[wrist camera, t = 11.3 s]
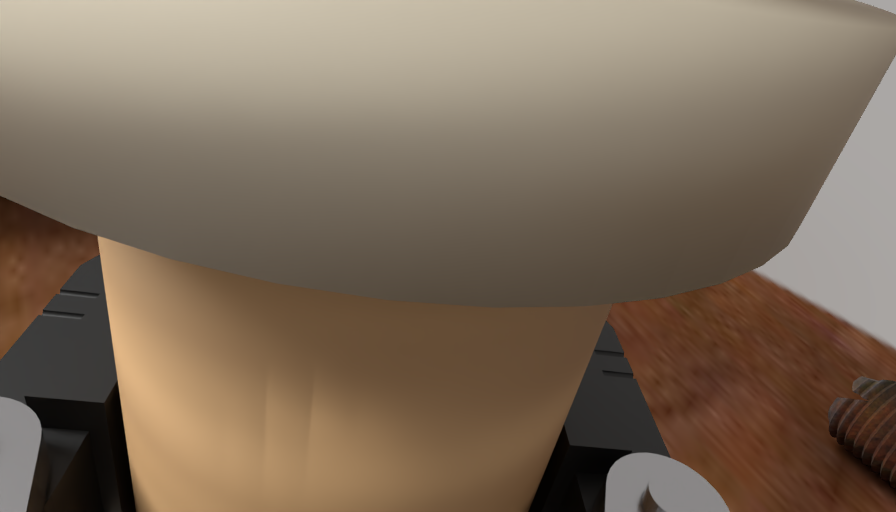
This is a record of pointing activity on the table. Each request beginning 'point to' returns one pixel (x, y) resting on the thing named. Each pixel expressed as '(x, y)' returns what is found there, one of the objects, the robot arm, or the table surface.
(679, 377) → the table surface
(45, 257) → the table surface
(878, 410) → the bolt
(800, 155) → the bobbin
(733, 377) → the table surface
